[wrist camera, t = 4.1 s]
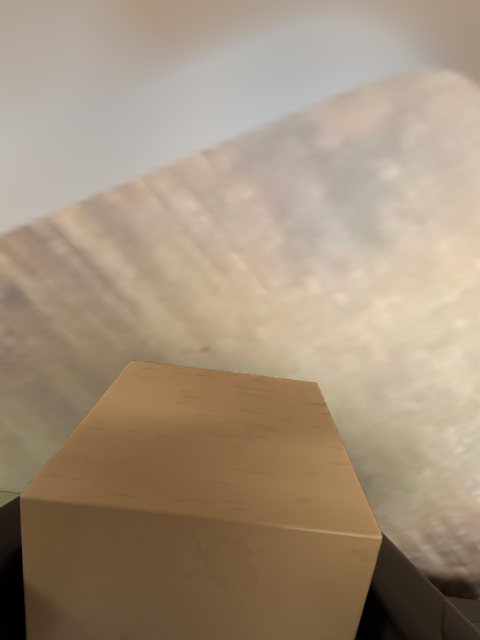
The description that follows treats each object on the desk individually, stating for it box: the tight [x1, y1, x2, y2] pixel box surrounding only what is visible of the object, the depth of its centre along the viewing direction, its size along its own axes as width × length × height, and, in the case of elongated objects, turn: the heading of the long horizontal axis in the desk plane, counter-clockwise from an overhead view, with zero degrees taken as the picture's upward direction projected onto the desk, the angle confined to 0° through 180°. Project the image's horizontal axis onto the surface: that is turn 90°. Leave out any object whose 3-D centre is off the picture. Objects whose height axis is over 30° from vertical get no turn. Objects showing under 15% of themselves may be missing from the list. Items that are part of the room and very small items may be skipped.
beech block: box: [20, 360, 383, 640], centre depth 7 cm, size 5×5×5 cm
